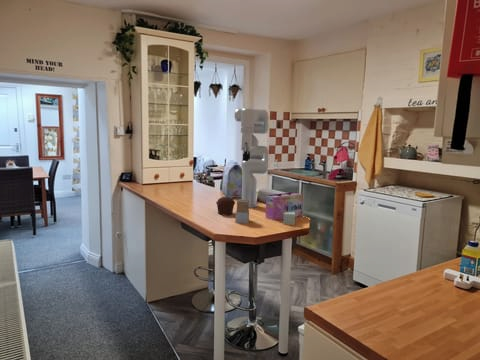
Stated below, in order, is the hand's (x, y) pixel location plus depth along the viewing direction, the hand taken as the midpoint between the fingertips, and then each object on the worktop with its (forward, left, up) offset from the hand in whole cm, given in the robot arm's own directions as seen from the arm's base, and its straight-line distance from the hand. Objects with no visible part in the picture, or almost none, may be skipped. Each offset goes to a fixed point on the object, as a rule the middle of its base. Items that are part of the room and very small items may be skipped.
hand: (246, 160), depth 210 cm
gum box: (-4, +24, -34) cm, 41 cm away
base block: (+12, 0, -33) cm, 35 cm away
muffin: (-4, -12, -34) cm, 36 cm away
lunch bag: (-61, -14, -34) cm, 71 cm away
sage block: (+10, +26, -33) cm, 43 cm away
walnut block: (+12, 0, -27) cm, 30 cm away
